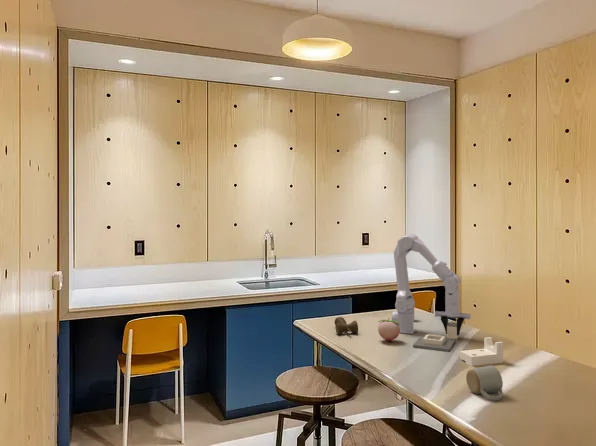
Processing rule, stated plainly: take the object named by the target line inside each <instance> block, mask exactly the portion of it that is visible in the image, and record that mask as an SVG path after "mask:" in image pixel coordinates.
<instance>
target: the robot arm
mask: <svg viewBox="0 0 596 446" xmlns="http://www.w3.org/2000/svg"><path fill="white" fill-rule="evenodd" d="M411 251H412V252H416V253H419V254H420V255H421V256H422V257H423V258H424V259H425V260H426V261H427V262H428V263H429V264H430V265H431V271H433V273H434V274H435V275H436V276H437V277H438V278H439V279H440V280H441V281H442V282H443V286H444V289H445V292H444V293H445V294H444V295H445V296H444V301H445V302H444V303H445V308H444V309H445V311H438V310H436V311H434V317H435V318H436V317H440V321H441V323H442V325H443V328H444V331H445V335H447V324H448V322H449V318H453V319H456V323H457V335H458V336H460V334H461V332H460V331H461V329H462V325H463V323H464V322H465V321H464V320H471V313H465V312H464V313H463V312H460V287H459V286H460V285H461V278H460V277H459V275H458V274H457V273H455V272H454V271H452V270H451V269H450V268H449V267H448V266H447V265H448V263H446V262H444V261H443V260H438V259H437V258H436V256H435V255H434V254H433V253H432V252H431V251H430V249H429V248H428V247H427V246H426V245H425V244H424V242H423V241H422V240H421V239H420V238H419V237H418V236H417V235H416V234H409V235H403V236H401V237H400V238H399V239H398V240H397V244H396V246H395V248H394V251H393V258H394V259H393V260H394V267H395V276H396V286H397V293H396V297H395V298H396V300H395V304H394V307H395V309H396V310H394V311H392V314H391V320H394V321H397V322H398V323H399V324H400V325H399V324H398V325H399V327H400V333H399V334H408V335H412V334H414V332H416V330H417V329H416V328H415V327H414V324H415V323H414V322H415V321H414V322H413V307H414V308H415V306H416V300H415V299H414V296H413V293H412V292H411V290H410V289H411V288H410V282H409V272H408V263H407V262H408V261H407V255H408V254H409V253H410V252H411Z"/></svg>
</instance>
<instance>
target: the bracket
mask: <svg viewBox="0 0 596 446" xmlns="http://www.w3.org/2000/svg"><path fill="white" fill-rule="evenodd" d="M483 341H484V342H483V343H484V345H483V348H476V349H469V350H466V349H465V350H459V359H461V360H463V361H464V362H465V364H466V365H468V366H470V367H476V366H487V365H493V364H501V363H504V341H496V342H493V337H491V336H489V337H484V338H483Z"/></svg>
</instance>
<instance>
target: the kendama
mask: <svg viewBox="0 0 596 446" xmlns="http://www.w3.org/2000/svg"><path fill="white" fill-rule="evenodd" d="M334 325H335V333H336V335H337V336H340V335H342V334H344V333H347V332H350V333H352V334H356V335H358V333H359V325H358V322H357V320H353V321H352V322H350V323H348V324H347V321H346V319H345V318H344V317H342V316H338V317H336V318H335V319H334Z"/></svg>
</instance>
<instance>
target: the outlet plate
mask: <svg viewBox="0 0 596 446" xmlns="http://www.w3.org/2000/svg"><path fill="white" fill-rule="evenodd" d="M455 343H456V339H449V338H446V336H445V335H437V334H426V335H425V336H424V335H423V336H421V335H420V337H418V338H417V340H416V341H415V342H414V343H413V344H412V348H415V349H422V350H423V349H424V350H431V351H432V350H433V351H441V352H448V353H449V352H450V351H451V349H452V348H453V346H454V344H455Z"/></svg>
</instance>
